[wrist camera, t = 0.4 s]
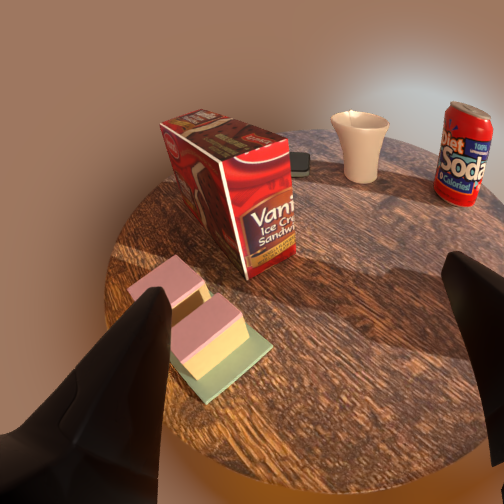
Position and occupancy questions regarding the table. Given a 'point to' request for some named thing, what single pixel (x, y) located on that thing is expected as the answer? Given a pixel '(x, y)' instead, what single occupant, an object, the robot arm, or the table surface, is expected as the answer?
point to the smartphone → (299, 164)
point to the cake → (175, 287)
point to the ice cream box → (235, 186)
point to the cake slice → (208, 335)
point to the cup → (360, 143)
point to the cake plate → (226, 366)
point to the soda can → (462, 154)
